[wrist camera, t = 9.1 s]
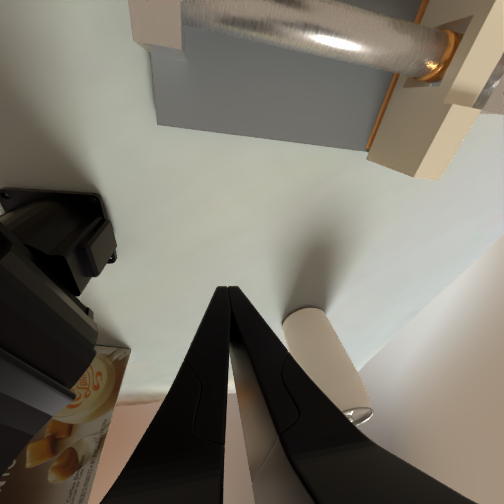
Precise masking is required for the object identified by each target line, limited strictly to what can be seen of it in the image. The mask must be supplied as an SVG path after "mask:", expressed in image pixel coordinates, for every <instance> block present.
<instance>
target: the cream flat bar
mask: <svg viewBox="0 0 504 504" xmlns="http://www.w3.org/2000/svg"><path fill="white" fill-rule="evenodd" d="M420 25H424V26H427V27H430V28H434V29H437V30H440V29H448V30H452V31H455V32H458V33H462V34H464V36H463V38H462V40H461V42H460V44H459V46H458V48H457V50H456V52H455V54H454V57H453V59H452V61H451V63H450V65H449V67H448V69H447V71H446V73H445V75H444V77H443V79H442V81H441V83H440V85H439V86H432V87H430V86H431V84H432V83H427V82H423V81H418V80H415V79H414V78H413V77H411V76H406V75H402V74H400V75H399V78H398V80H397V83H396V85H395V88H394V90H393V93H392V95H391V98H390V100H389V103H388V105H387V108H386V110H385V113H384V115H383V118H382V121H381V123H380V126H379V128H378V131H377V133H376V136H375V138H374V141H373V143H372V146H371V148H370V151H369V153H368V156H367V158H366V159H367V160H370V161H372V162H375V163H377V164H380V165H383V166H385V167H388V168H390V169H393V170H396V171H398V172H401V173H404V174H406V175H409V176H411V177H415V178H425V179H434V180H440V178H441V176H442V175H443V173H444V171H445V170H446V168H447V166H448V165H449V163H450V161H451V160H452V158H453V156H454V155H455V153H456V151H457V150H458V148H459V146H460V145H461V143H462V141H463V140H464V138H465V136H466V135H467V133H468V131H469V130H470V128H471V126H472V125H473V123H474V121H475V120H476V118H477V116H478V115H479V113H480V112H481V110H480V109H475V108H472V106H473V105H474V103H475V101H476V99H477V98H478V96H479V94H480V93H481V91H482V89H483V87H484V86H485V84H486V82H487V80H488V79H489V77H490V75H491V73H492V72H493V70H494V68H495V67H496V65H497V63H498V61H499V60H500V58H501V56H502V54H503V53H504V0H429V2H428V5H427V7H426V10H425V12H424V15H423V17H422V20H421V22H420Z"/></svg>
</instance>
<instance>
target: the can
mask: <svg viewBox="0 0 504 504" xmlns="http://www.w3.org/2000/svg"><path fill="white" fill-rule="evenodd" d="M282 330H283V334H284V337H285V340H286V343H287V346H288V349H289V352H290V354H291V355H292V356H293V358H294V359H295V360H296V362H297V363H298V364H299V365H300V366H301V368H302V369H303V370H304V371H305V373H306V374H307V375H308V376H309V377H310V378H311V379H312V380H313V382H314V383H315V384H316V385H317V386H318V387H319V388H320V389H321V390H322V391H323V392H324V393H325V395H326V396H327V397H328V398H329V399H330V400H331V401H332V402H333V403H334V404H335V405H336V406H337V407H338V408H339V409H340V410H341V411H342V413H343V414H344V415H345V416H346V417H347V418H348V419H349V420H350V421H351V422H352V423H353V424H354V425H355V426H357V425H359V424H361V423H363V422H365V421H366V420H368V419H369V418H370V417H371V416H372V415H373V413H374V411H373V409H371V407H370V404H369V403H370V402H369V395H368V392H367V389H366V387H365V386H364V384H363V382H362V380H361V378H360V376H359V374H358V372H357V371H356V369H355V367H354V365H353V363H352V361H351V360H350V358H349V356H348V354H347V352H346V350H345V349H344V347H343V345H342V343H341V341H340V340H339V338H338V336H337V334H336V332H335V330H334V329H333V327H332V325H331V323H330V321H329V320H328V318H327V316H326V314H325V313H324V312H323V311H322V310H320V309H317V308H313V307H306V308H301V309H299V310H296V311H294V312H293V313H291V314H290V315H289V316H288V317H287V318H286V319H285V321H284V323H283V326H282Z"/></svg>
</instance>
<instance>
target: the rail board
mask: <svg viewBox="0 0 504 504" xmlns="http://www.w3.org/2000/svg"><path fill="white" fill-rule="evenodd" d="M337 1H340V2H344V3H347V4H351V5H354V6H358V7H361V8H364V9H368V10H371V11H375V12H378V13H382V14H385V15H389V16H392V17H396V18H399V19H403V20H406V21H410V22H413V23H417V24H420V22H421V20H422V17H423V15H424V12H425V10H426V7H427V5H428V2H429V0H337ZM463 35H464V34H463ZM151 63H152V74H153V85H154V95H155V106H156V116H157V125H163V126H170V127H178V128H186V129H194V130H202V131H209V132H217V133H225V134H233V135H241V136H249V137H256V138H264V139H272V140H280V141H288V142H295V143H303V144H311V145H319V146H327V147H334V148H342V149H350V150H358V151H366V152H369V151H370V148H371V146H372V143H373V141H374V138H375V136H376V133H377V131H378V128H379V126H380V123H381V121H382V118H383V115H384V113H385V110H386V108H387V105H388V103H389V100H390V98H391V95H392V93H393V90H394V88H395V85H396V83H397V80H398V78H399V75H400V74H397V73H393V72H388V71H384V70H380V69H375V68H371V67H366V66H362V65H357V64H353V63H348V62H344V61H339V60H335V59H330V58H326V57H321V56H317V55H312V54H308V53H303V52H299V51H294V50H290V49H286V48H281V47H277V46H272V45H268V44H263V43H259V42H254V41H250V40H245V39H241V38H236V37H232V36H227V35H223V34H218V33H214V32H209V31H205V30H200V29H196V28H192V27H187V61H185V60H180V59H174V58H169V57H164V56H159V55H154V54H151ZM439 85H440V83H438V82H436V83H432V84H431V86H430V87H432V86H439Z"/></svg>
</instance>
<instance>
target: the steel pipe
mask: <svg viewBox="0 0 504 504" xmlns="http://www.w3.org/2000/svg"><path fill="white" fill-rule="evenodd" d="M128 2H129V10H130V18H131V26H132V34H133V40H134V41H135V42H136V43H137V44H139V45H140V46H141V47H142V48H144V49H145V50H146V51H147V52H149V53H150V54H154V55H159V56H164V57H169V58H174V59H180V60H185V61H187V27H192V28H196V29H200V30H205V31H209V32H214V33H218V34H223V35H227V36H232V37H236V38H241V39H245V40H250V41H254V42H259V43H263V44H268V45H272V46H277V47H281V48H286V49H290V50H294V51H299V52H303V53H308V54H312V55H317V56H321V57H326V58H330V59H335V60H339V61H344V62H348V63H353V64H357V65H362V66H366V67H371V68H375V69H380V70H384V71H388V72H393V73H397V74H402V75H406V76H411V77H413V78H414V79H415V80H418V81H423V82H427V83H436V82H438V83H441V81H442V79H443V77H444V75H445V73H446V71H447V69H448V67H449V65H450V63H451V61H452V59H453V57H454V54H455V52H456V50H457V48H458V46H459V44H460V42H461V40H462V38H463V36H464V35H463V34H462V33H458V32H455V31H452V30H448V29H440V30H437V29H434V28H430V27H427V26H424V25H420V24H417V23H413V22H410V21H406V20H403V19H399V18H396V17H392V16H389V15H385V14H382V13H378V12H375V11H371V10H368V9H364V8H361V7H358V6H354V5H351V4H347V3H344V2H340V1H337V0H128ZM472 108H475V109H480V110H481V112H480V114H498V115H504V53H503V54H502V56H501V58H500V60H499V61H498V63H497V65H496V67H495V68H494V70H493V72H492V73H491V75H490V77H489V79H488V80H487V82H486V84H485V86H484V87H483V89H482V91H481V93H480V94H479V96H478V98H477V99H476V101H475V103H474V105H473V106H472Z"/></svg>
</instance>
